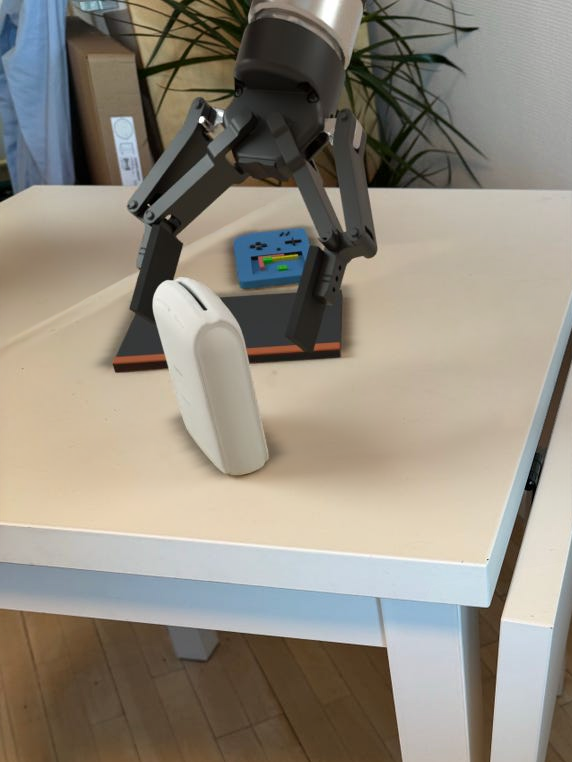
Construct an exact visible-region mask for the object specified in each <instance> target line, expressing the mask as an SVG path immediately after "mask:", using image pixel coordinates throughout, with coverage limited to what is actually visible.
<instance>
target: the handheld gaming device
mask: <svg viewBox="0 0 572 762" xmlns="http://www.w3.org/2000/svg"><path fill="white" fill-rule="evenodd" d="M310 245H311V244H310V241H309V238H308V235H307V231H306V229H305V228H303V227H299V228H289V229H280V230H279V229H278V230H269V231H260V232H251V233H247V234H243V235H240V236H238V237H236V238H235V239H233V250H234V257H235V265H236V271H237V278H238V284H239V288H240V289H242V290H251V289H259V288H269V287H279V286H285V285H294V284H299V282H300V279H301V275H302V272H303V268H304V264H305V261H306V257H307V254H308V250H309V246H310Z"/></svg>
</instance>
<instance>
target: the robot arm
mask: <svg viewBox="0 0 572 762" xmlns="http://www.w3.org/2000/svg"><path fill="white" fill-rule="evenodd" d="M68 1H69V2H75V3H89V2H111V1H112V0H68ZM366 4H367V0H252V1H251V5H250V8H249V12H248V15H247V21H248V24H247V25H246V26H245V28H244V31H243V34H242V38H241V42H240V45H239V49H238V53H237V56H236V60H235V63H234V67H233V83H234V85H233V87H234V94H233V97H232V99H231V101H230V102H229V104H228V105H227V106H226V108H225V109H224V108H219V107H216V106H211V105H210V104H209V103H208V102H207V100H205V98H204V97H202V96H197V97H195V98H194V99H193V100H192V102H191V103H190V107H189V108H188V111H187V115H186V117H185V120H184V122H183V125H182V126H181V128H180V129H179V130H178V131H177V133H176V135H174V137H173V139H172V140H171V141H170V143H169V144H168V146H167V147H166V148H165V150H164V151H163V152H162V154H161V155H160V157H159V158H158V159H157V161H155V164H154V165H153V166H152V168H151V169H150V171H149V172H148V173H147V175H146V176H145V177H144V179H143V180H142V182H141V183H140V184H139V186H138V187H137V189H135V191H134V192H133V194H132V195H131V197H130V198H129V200H128V201H127V203H126V209H127V212H129V213H130V214H131V215H133V216H134V217H135V218H136V219H138V220H139V221H140V222H141V223H143V224H144V231H143V235H142V239H141V243H140V246H139V249H138V254H137V257H136V261H135V262H136V268H137V270H139V272H138V275H137V278H136V283H135V287H134V290H133V293H132V297H131V301H130V305H129V307H128V310H129V311H131V312H133V313H134V314H135V313H136V314H137V315H139V316H140V317H142V318H144V319H145V320H147V321H148V322H150V323H151V324H153V325H157V324H156V321H155V317H154V313H153V297H154V294H155V292H156V289H157V288H158V286H159V285H160V284H161V283H162V282H164V281H166V280H171V281H173V280H175V276H176V273H177V268H178V265H179V262H180V258H181V254H182V251H183V247H184V243H183V242H182V241H181V240H180V239H179V238H178V237H177V236H179V234H180V233H181V232H183V231H184V230H185V229H186V228H187V227H188V226H189V225H190V224H191V223H192V222H193V221H195V220H196V219H197V218H198V217H199V216H200V215H201V214H202V213H203V212H204V211H206V210H207V208H209V207H210V206H211V205H212V204H213V203H214V202H216V200H218V199H219V197H221V196H222V195H223V194H224V193H225V192H226V191H227V190H229V189H230V188H231V187H232V186H233V185H240V184H243V183H244V182H245V181H246V180H247V179H248V178H249V177H251V178H252V179H256V180H257V179H258V180H264V179H270V178H272V179H274V180H276V181H279V182H283V183H284V182H285V183H289V182H290V179H292V178H293V179H294V181H295V184H296V186H297V188H298V190H299V193H300V196H301V197H302V200H303V202H304V205H305V207H306V209H307V211H308V214H309V216H310V218H311V221H312V223H313V226H314V227H315V230H316V232H317V234H318V237H317V240H318V242H320V244H321V245H323V249H322V248H321V247H320V246H317V245H311V244H310V246H309V250H308V254H307V257H306V261H305V264H304V268H303V272H302V275H301V279H300V282H299V283H298V286H297V290H296V292H297V293H296V297H295V300H294V304H293V308H292V311H291V315H290V318H289V322H288V326H287V329H286V333H285V337H286V338H288V339H289V340H290V341H291V342H293V343H294V344H295V345H296V346H298V347H299V348H300V349H302V350H303V351H305V352H310V353H313V350H314V347H315V343H316V339H317V336H318V332H319V329H320V325H321V321H322V318H323V314H324V311H325V307H326V304H327V305H333V304H334V303H335V301H336V300H337V298H338V294H339V290H341V287H342V286H341V285H342V283H343V280H344V276H345V272H346V269H347V266H348V264H349V263H350V262H352V260H353V259H356V258H360V257H364V258H365V259H368V260H369V259H372V258H374V257H375V256H376V255H377V253H378V250H379V249H378V248H379V247H378V242H377V241H378V240H377V235H376V230H375V229H376V228H375V224H374V218H373V211H372V206H371V201H370V194H369V188H368V182H367V175H366V169H365V164H364V157H365V151H366V146H367V145H366V144H367V138H368V134H367V132H366V130H365V129H364V127H363V126H362V124H361V123H360V121H359V120H358V118H357V117H356V115H355V114H354V113H353V111H352V110H351V109H350V108H346V107H345V108H342V109H340V110H339V111H337V110H338V107H339V103H340V99H341V97H342V92H343V89H344V86H345V81H346V76H347V74H346V70H347V68H349V65H350V62H351V59H352V55H353V51H354V47H355V44H356V40H357V38H358V37H357V36H358V33H359V30H360V27H361V22H362V19H363V14H364V10H365V8H366ZM337 112H338V113H337ZM336 114H337V115H336ZM328 143H329V144H330V145H331V147H332V150H333V152H332V153H333V157H334V163H335V170H336V176H337V183H338V188H339V194H340V201H341V207H342V214H343V219H344V226H345V231H344V230H343V227H342V224H341V223H340V220H339V218H338V215H337V213H336V211H335V209H334V206H333V205H332V202H331V200H330V196H329V195H328V193H327V191H326V188H325V186H324V181H323V178H322V176H321V173H320V171H319V169H318V167H317V164H316V162H315V160H314V158H315V157H316V156H318V154H319V153H320V152H321V151H322V150H323V149H325V147H326V146H327V145H328ZM230 151H231V155H232V157H233V159H234V161H235V162H232V161H231V159H229V157H228V156H227V155H228V153H230ZM168 216H170V217H169V218H167V217H168Z"/></svg>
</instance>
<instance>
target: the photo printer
mask: <svg viewBox="0 0 572 762" xmlns="http://www.w3.org/2000/svg"><path fill="white" fill-rule="evenodd" d="M219 297H220V296H219V295H217V294H216V293H215V292H214V291H212V290H211V289H210V288H209V287H208V286H206V285H205V284H203V283H202V282H200V281H198V280H196V279H193V278H191V277H186V276H178V277H177V278H174V280H173V281H171V280H166V281H164V282H162V283H161V284H160V285H159V286H158V288H157V289H156V292H155V294H154V297H153V313H154V317H155V321H156V324H157V328H158V332H159V335H160V339H161V342H162V346H163V350H164V353H165V357H166V361H167V364H168V368H169V369H168V371H169V376H170V378H171V383H172V386H173V389H174V393H175V396H176V400H177V403H178V407H179V410H180V414H181V418H182V420H183V423H184V426H185V428H186V430H187V432H188V433H189V435H190V437H191V438H192V439H193V441H194V442H195V443H196V445H197V446H198V447H199V449H200V450H201V451H202V453H204V455H205V456H206V457H207V458H208V459H209V460H210V462H211V463H212V464H213V465H214V466H215V467H216V468H217V469H218V470H219V471H220V472H222V473H223V474H224V475H227V474H229V475H231V476H242V475H243V476H244V475H247V474H250V473H253V472H256V471H258V470H259V469H261V468H263V467H264V466H265V463H266V462H268V461H269V459H270V458H269V457H270V456H269V449H268V445H267V444H268V443H267V439H266V435H265V430H264V426H263V421H262V417H261V412H260V407H259V402H258V398H257V393H256V389H255V384H254V383H255V382H254V380H253V373H252V370H251V365H250V363H249V360H248V355H247V350H246V346H245V341H244V337H243V334H242V331H241V328H240V326H239V324H238V322H237V320H236V319H235V317H234V316H233V314H232V313H231V312H230V310H229V309H228V308H227V307H226V305H225V304H224V303H223V302H222V301H221V299H220V298H219Z"/></svg>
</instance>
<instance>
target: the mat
mask: <svg viewBox="0 0 572 762" xmlns="http://www.w3.org/2000/svg"><path fill="white" fill-rule="evenodd" d="M296 293H297V291H296V292H295V291H294V292H281V293H264V294H263V293H262V294H249V295H234V296H232V295H231V296H218V297H219V298H220V299H221V301H222V302H223V303H224V304H225V305H226V307H227V308H228V309H229V310H230V312H231V313H232V314H233V316H234V317H235V319H236V320H237V322H238V324H239V326H240V328H241V331H242V334H243V337H244V341H245V346H246V350H247V355H248V360H249V364H256V363H257V364H258V363H270V362H272V363H273V362H285V361H287V362H288V361H299V360H315V359H328V358H329V359H330V358H341V357H342V329H343V302H344V301H343V300H344V299H343V289H340V290H339V294H338V298H337V300H336V301H335V303H334V304H333V305H327V304H326V307H325V311H324V314H323V318H322V321H321V325H320V329H319V332H318V336H317V339H316V343H315V347H314V350H313V353H310V352H305V351H303V350H302V349H300V348H299V347H298V346H296V345H295V344H294V343H293V342H291V341H290V340H289V339H288V338H286V337H285V333H286V329H287V326H288V322H289V318H290V315H291V311H292V308H293V304H294V300H295V297H296ZM112 368H113V370H114V373H121V372H139V371H151V370H165V369H167V370H169V368H168V364H167V361H166V357H165V353H164V350H163V346H162V342H161V339H160V335H159V332H158V328H157V325H153V324H151V323H150V322H148V321H147V320H145V319H144V318H142V317H140V316H139V315H137V314H136V313H134V316H133V318H132V320H131V321H130V324H129V326H128V329H127V331H126V333H125V336H124V338H123V340H122V342H121V344H120V347H119V349H118V351H117V353H116V355H115V357H114V358H113V359H112Z"/></svg>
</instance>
